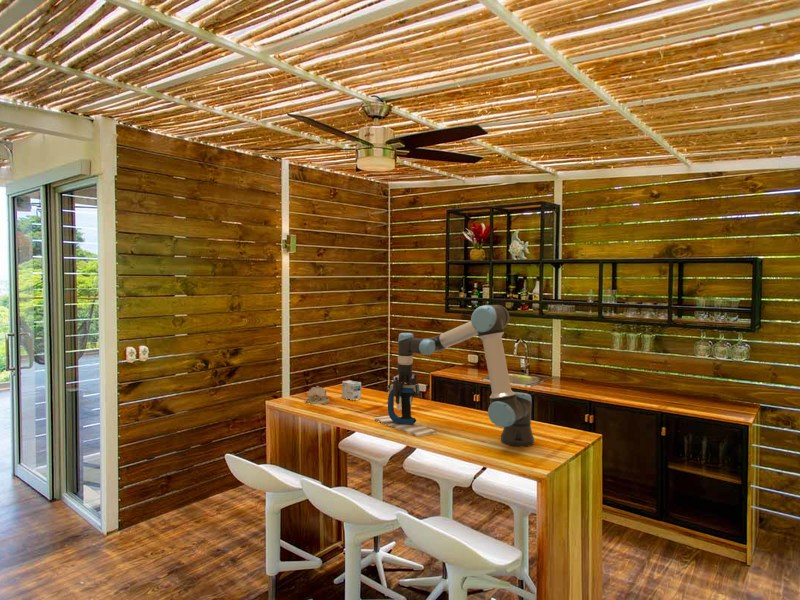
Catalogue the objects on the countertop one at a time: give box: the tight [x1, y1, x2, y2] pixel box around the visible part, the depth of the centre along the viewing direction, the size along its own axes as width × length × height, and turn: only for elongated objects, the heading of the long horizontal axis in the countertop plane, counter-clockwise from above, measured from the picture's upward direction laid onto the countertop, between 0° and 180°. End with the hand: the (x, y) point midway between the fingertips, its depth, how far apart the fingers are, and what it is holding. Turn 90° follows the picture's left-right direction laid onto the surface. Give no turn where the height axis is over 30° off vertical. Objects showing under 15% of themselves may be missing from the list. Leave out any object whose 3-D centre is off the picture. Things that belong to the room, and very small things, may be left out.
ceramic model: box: [306, 385, 330, 405], centre depth 319 cm, size 14×11×10 cm
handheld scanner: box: [387, 383, 420, 424], centre depth 272 cm, size 5×16×20 cm, turn 75°
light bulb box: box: [341, 380, 362, 401], centre depth 331 cm, size 11×7×11 cm, turn 49°
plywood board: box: [373, 415, 437, 438], centre depth 271 cm, size 36×12×1 cm, turn 37°
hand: (404, 409), depth 271 cm, fingers closed on handheld scanner, 6 cm apart
